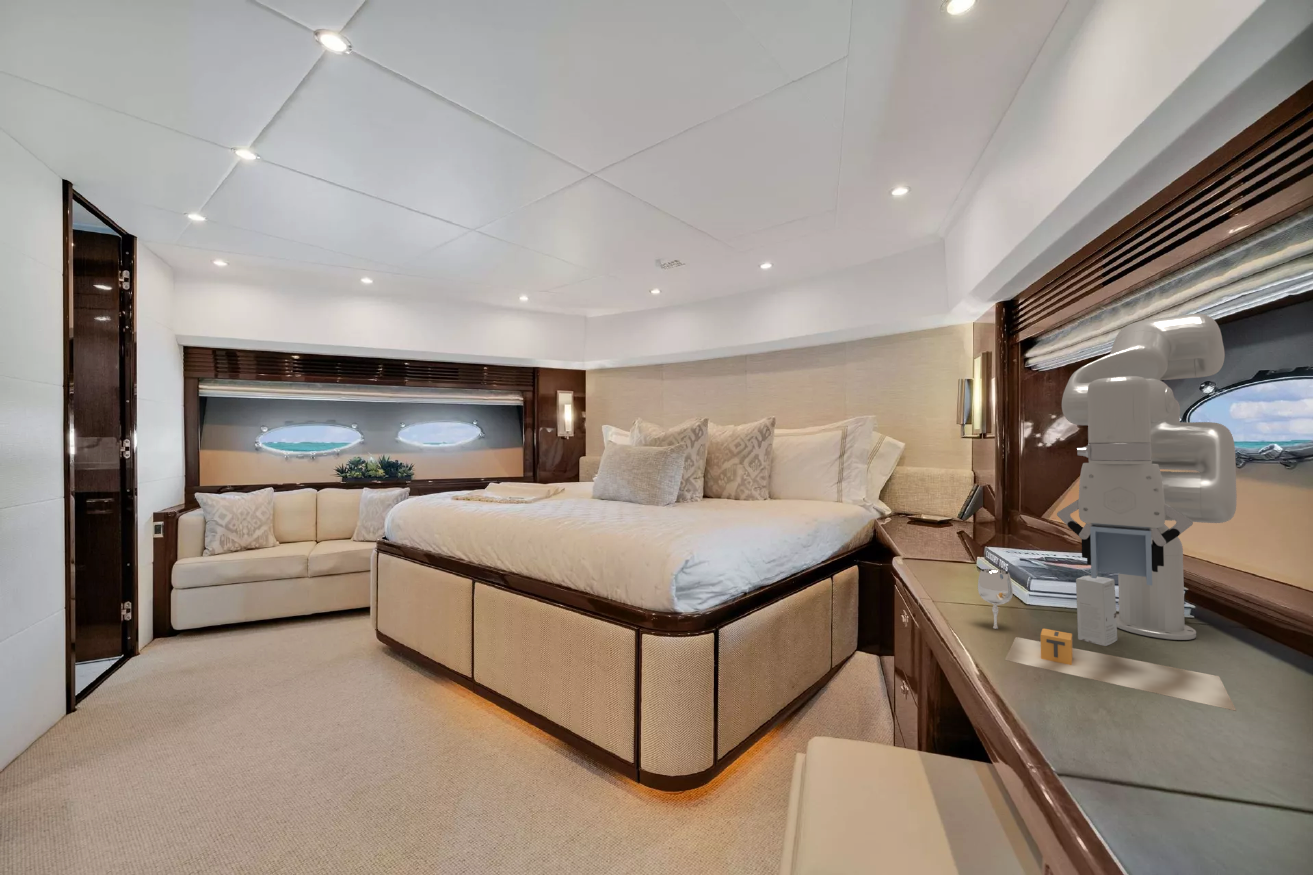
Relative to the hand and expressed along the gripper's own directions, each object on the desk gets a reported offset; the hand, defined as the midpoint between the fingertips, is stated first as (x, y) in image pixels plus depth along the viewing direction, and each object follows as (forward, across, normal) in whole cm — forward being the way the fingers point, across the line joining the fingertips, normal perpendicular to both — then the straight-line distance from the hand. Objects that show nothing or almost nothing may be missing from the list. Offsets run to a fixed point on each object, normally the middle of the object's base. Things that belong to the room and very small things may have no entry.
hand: (1121, 565), depth 83 cm
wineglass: (+18, -19, +10) cm, 28 cm away
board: (+18, -2, 0) cm, 18 cm away
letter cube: (+17, -8, -1) cm, 19 cm away
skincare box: (+18, -4, +15) cm, 24 cm away
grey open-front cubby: (+2, 0, 0) cm, 2 cm away
